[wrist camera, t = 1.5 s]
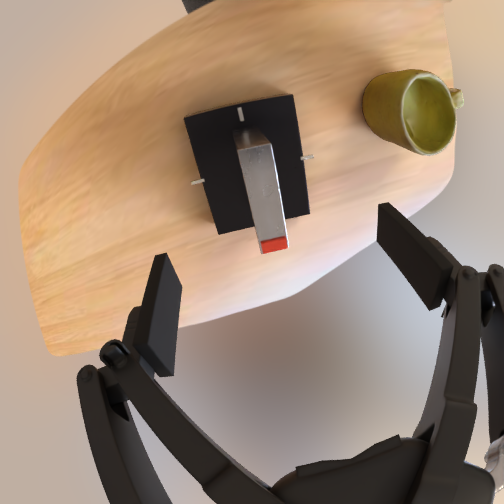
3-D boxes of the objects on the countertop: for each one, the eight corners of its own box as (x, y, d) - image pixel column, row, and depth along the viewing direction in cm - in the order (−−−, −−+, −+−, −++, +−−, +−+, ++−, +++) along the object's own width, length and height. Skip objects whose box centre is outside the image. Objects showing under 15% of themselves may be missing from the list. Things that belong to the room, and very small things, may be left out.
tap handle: (231, 130, 25) (237, 151, 18) (255, 124, 25) (272, 143, 18) (250, 207, 30) (261, 256, 23) (271, 203, 30) (289, 249, 23)
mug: (367, 165, 29) (426, 163, 20) (338, 85, 26) (389, 56, 17) (428, 146, 30) (482, 143, 21) (405, 78, 28) (456, 61, 18)
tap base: (176, 118, 26) (172, 121, 24) (296, 92, 26) (303, 93, 24) (209, 226, 34) (209, 237, 32) (312, 203, 34) (319, 212, 32)
